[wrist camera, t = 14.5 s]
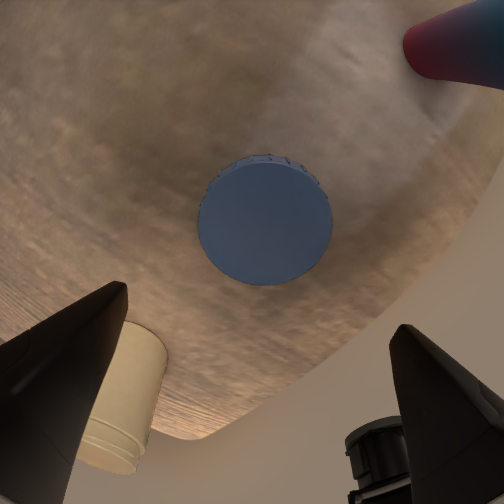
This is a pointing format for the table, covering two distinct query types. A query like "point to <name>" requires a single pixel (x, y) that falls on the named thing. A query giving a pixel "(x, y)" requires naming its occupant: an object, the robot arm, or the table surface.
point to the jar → (125, 403)
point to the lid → (264, 220)
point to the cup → (461, 45)
